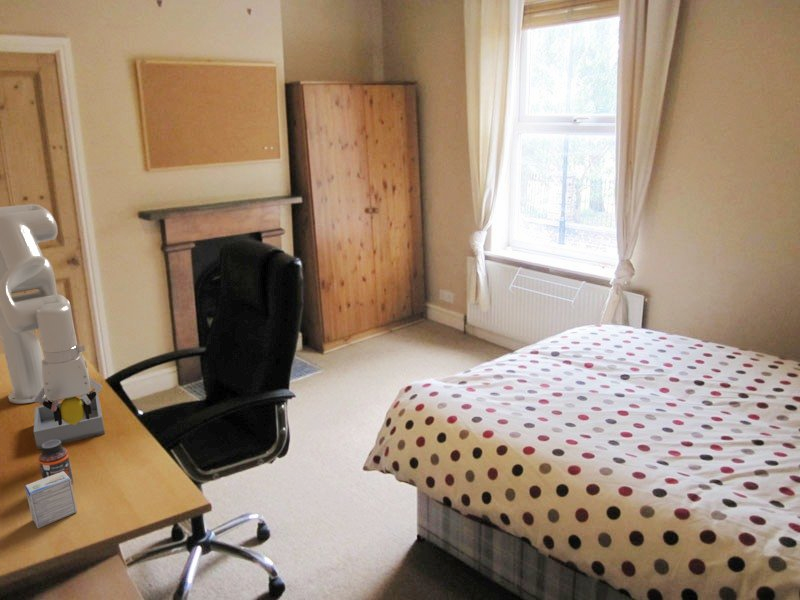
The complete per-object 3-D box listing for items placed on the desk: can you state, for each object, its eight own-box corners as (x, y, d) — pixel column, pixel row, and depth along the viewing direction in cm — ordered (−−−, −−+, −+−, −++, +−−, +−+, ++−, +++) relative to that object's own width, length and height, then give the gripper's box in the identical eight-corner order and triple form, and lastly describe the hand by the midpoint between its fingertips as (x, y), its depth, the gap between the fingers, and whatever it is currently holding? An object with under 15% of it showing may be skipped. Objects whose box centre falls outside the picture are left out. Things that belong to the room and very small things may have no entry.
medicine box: (71, 504, 141) (64, 469, 139) (78, 512, 138) (70, 478, 135) (31, 520, 136) (23, 484, 133) (38, 529, 133) (29, 493, 130)
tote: (38, 423, 178) (35, 407, 176) (101, 409, 185) (98, 394, 183) (37, 449, 164) (33, 432, 163) (104, 433, 171) (101, 417, 170)
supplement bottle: (54, 497, 144) (45, 453, 140) (39, 489, 147) (30, 446, 143) (79, 484, 149) (70, 441, 145) (64, 477, 152) (55, 434, 148)
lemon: (92, 421, 162) (86, 393, 160) (73, 432, 157) (67, 403, 155) (76, 417, 164) (71, 389, 162) (57, 427, 160) (52, 398, 157)
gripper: (99, 342, 162) (110, 405, 167) (21, 355, 154) (35, 421, 160) (101, 352, 155) (112, 418, 161) (20, 366, 148) (35, 435, 154)
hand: (74, 419), depth 160 cm, fingers closed on lemon, 5 cm apart
